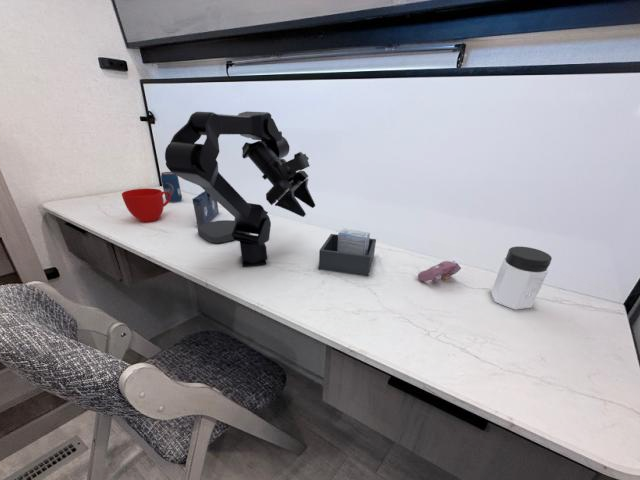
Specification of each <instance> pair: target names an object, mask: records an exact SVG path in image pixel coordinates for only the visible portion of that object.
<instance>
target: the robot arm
mask: <svg viewBox="0 0 640 480" xmlns="http://www.w3.org/2000/svg"><path fill="white" fill-rule="evenodd" d="M279 130H280V129H279V128H278V126H277V124H276V121H275V120H274V118H272V114H271V113H270V112H268V111H243V112H239V113H238V114H237V115H236V114H235V115H234V114H220V113H215V112H213V111H195V112H193V113H192V114H191V115H190V117H189V118H188V120H187V122H186V123H185V124H184V125H183V126H182V127H181V128H180V129H178V130H177V132H175V134H174V135H173V136H172V138H171V140H170V142H169V144H167V146H166V148H165V151H164V160H165V166H166V168H167V169H168V170H169V172H172V173H174V174H175V175H177V176H178V178H181V179H182V180H184V181H187V182H189V183H192V184H194V185H196V186H199V187H200V188H201V189H203V190H204V191H206V192H207V193H208V194H209V195H211V196H212V197H213V198H214V199H215V200H216V201H217V204H220V206H222V207H223V208H224V209H225V210H226V211H227V212H228V213H229V214H230V215H232V217H234V221H235V227H234V229H233V232H232V237H233V240H232V241H234V242H239V248H240V249H239V250H240V261H241V265H242V267H243V268H244V267H245V268H246V267H252V266H253V267H255V266H263V265H264V266H265V265H267V260H268V253H267V252H268V251H267V245H266V243H267V242H269V241H270V235H271V227H272V222H271V218H270V216H269V214H268V212H269V211H266V210H265V209H264V207H263V206H262V205H261V204H259V203H258V204H257V203H252V202H251V203H250V202H247V201H246V200H245V198H243V196H242V195H241V194H240V193H239V192H238V191H237V190H236V189H235V188H234V187H233V186H232V185H231V184H230V183H229V182H228V181H227V180H226V178H225V177H224V176H223V175H222V174H221V173H220V171H219V162H218V161H217V158H218V156H219V154H220V145H219V144H220V143H219V137H220V136H221V135H222V136H223V135H240V136H241V137H244V138H247V139H251V140H253V141H255V142H245V143H244V144H243V145H242V147H241V150H242V153H241V154H242V156H241V158H243V159H247V158H249V160H250V161H251V162H252V163H253V164H254V165H255V167H256V168H257V169H258V170H259V171H260V172H261V173H262V174H263V175H262V176H261V177H262V178H263V180H264V181H265V180H268V181H269V182H270V183H271V185H272V186H271V188H269V190H268V191H267V192H266V193H265V200H266V201H267V202H268V203H269V204H270V205H271V206H273V205H274V206H275V207H279V208H282V209H284V210H286V211H289V212H291V213H293V214H296V215H297V216H300V217H302V218H304V217H305V216H306V215H307V213H306V212H305V210H304V208H303V206H302V205H301V204H300V202H302V203H304V204H306V205H307V206H308V207H310V208H311V209H313V208H315V207H316V203H315V201H314V199H313V196H312V195H311V193H310V190H309V188H308V185H309V178H308V177H309V175H308V173H307V172H306V171H305V170H304V169H307V168H309V167H310V166H311V165H310V162H309V159H310V158H309V156H307V154H306V153H303V152H302V151H299V152H296V153H295V154H293V158H292V159H290V160H286V159H285V157H287V156H288V155H289V153H290V144H289V142H288V140H287V139H286V137H285V136H283V132H282V131H281V130H280V131H279ZM202 136H206V138H205V141H204V142H203V143H197V141H199V140H200V138H202ZM298 200H299V201H300V202H299V201H298ZM245 232H247V233H250V234H245Z"/></svg>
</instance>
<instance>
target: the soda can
mask: <svg viewBox="0 0 640 480" xmlns="http://www.w3.org/2000/svg"><path fill="white" fill-rule="evenodd" d="M160 174H161V175H160V180H161V185H162V189H163V191H167V192H168V193H169V194H170V197H171V198H170V201H169V203H179V202H182V199H183V194H182V191H181V185H180V181H179V176H177V175H175V174H174V173H172V172H171V171H164V172H163V171H162V172H161V173H160ZM163 195H164V198H165V200H166V201H167V199H168V195H167V193H164V194H163Z"/></svg>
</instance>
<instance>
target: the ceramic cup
mask: <svg viewBox="0 0 640 480" xmlns="http://www.w3.org/2000/svg"><path fill="white" fill-rule="evenodd" d="M164 193H167V195H168V199H167V200H166V201H165V202H164V196H163V195H165V194H164ZM121 197H122V200H123V203H124V205H125V207H126V209H127V210H128V212H129V213H130V215H132V216H133V218H135V219H136V220H138V221H139V222H141V223H152V222H156V221H158V220H160V218H161V216H162V214H163V212H164V207H166V206H167V205H168V204H169V203H170V202H169V201H170V198H171V197H170V194H169V193H168V192H167V191H164V190H163V191H162V190H161V189H159V188H150V187H149V188H135V189H128V190H125V191H123V192H122V193H121Z"/></svg>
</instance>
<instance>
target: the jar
mask: <svg viewBox="0 0 640 480" xmlns="http://www.w3.org/2000/svg"><path fill="white" fill-rule="evenodd" d="M552 259H553V258H552V255H550V254H549V253H547V252H545V251H543V250H541V249H537V248H533V247H528V246H512V247H510V248H509V249H508V252H507V253H506V256H505V257H503V260H502V263H501V264H500V267H499V270H498V273H497V276H496V278H495V280H494V284H493V286H492V288H491V291H490V293H491V296H492V299H493V302H494V303H497V304H499V305H501V306H504V307H507V308H509V309H511V310H522V309H523V310H525V309H530V308H532V307H533V305H534V304H535V303H534V302H535V301H536V299H537V297H538V295H539V293H540V290H541V288H542V286H543V284H544V281H545V280H546V278H547V275H548V274H549V270H548V268H549V266H550V265H551V262H552Z"/></svg>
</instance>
